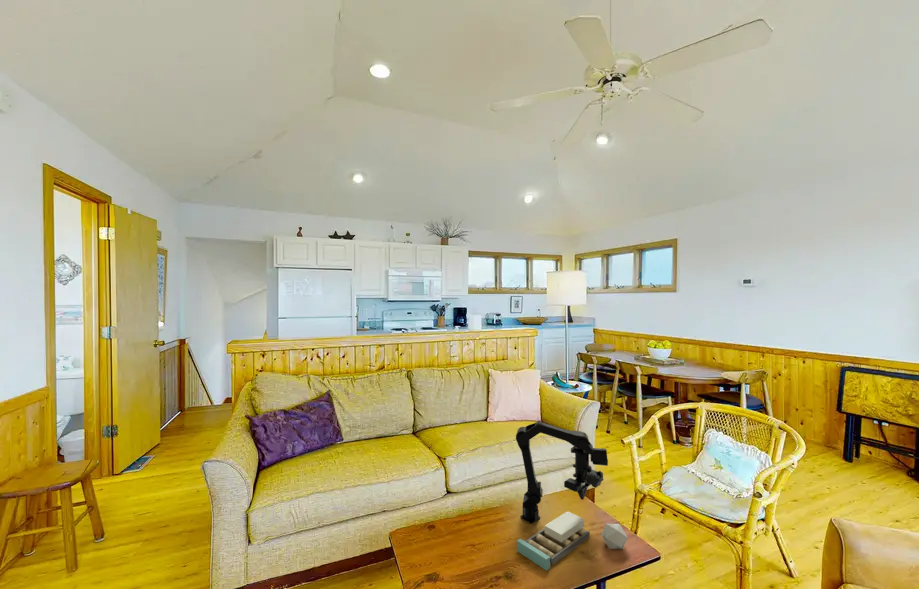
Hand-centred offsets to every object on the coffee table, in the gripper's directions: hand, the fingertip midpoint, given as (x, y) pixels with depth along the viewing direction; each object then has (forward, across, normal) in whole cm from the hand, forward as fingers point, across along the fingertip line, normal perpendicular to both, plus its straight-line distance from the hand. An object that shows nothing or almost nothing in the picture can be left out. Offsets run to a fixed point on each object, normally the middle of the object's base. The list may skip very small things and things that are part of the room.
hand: (582, 499), depth 165 cm
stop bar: (+11, -33, 0) cm, 35 cm away
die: (+11, -3, -16) cm, 20 cm away
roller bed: (+11, -18, 0) cm, 21 cm away
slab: (+8, -13, 0) cm, 15 cm away
